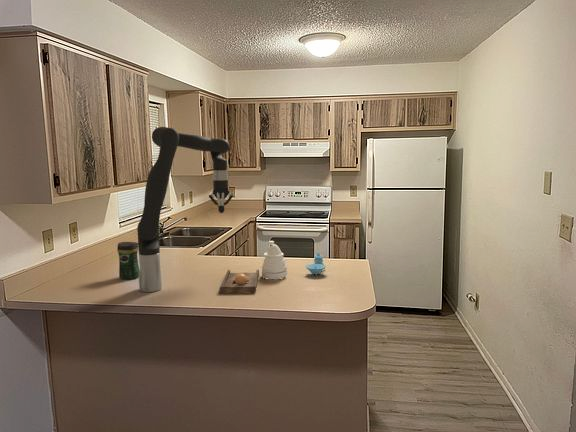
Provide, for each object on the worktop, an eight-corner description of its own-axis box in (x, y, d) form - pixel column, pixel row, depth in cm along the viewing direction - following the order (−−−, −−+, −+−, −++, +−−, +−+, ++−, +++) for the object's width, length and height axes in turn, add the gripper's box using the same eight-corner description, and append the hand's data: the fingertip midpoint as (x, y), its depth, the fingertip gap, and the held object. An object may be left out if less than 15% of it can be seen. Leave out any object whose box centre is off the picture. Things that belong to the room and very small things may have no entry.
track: (220, 293, 197) (220, 286, 197) (228, 275, 225) (227, 270, 225) (255, 292, 198) (255, 286, 197) (259, 275, 225) (259, 269, 225)
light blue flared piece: (324, 278, 220) (324, 260, 218) (303, 277, 222) (303, 259, 221) (329, 268, 237) (329, 252, 236) (310, 267, 239) (309, 251, 238)
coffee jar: (142, 275, 227) (140, 240, 224) (134, 280, 219) (131, 243, 216) (125, 274, 229) (123, 240, 226) (116, 279, 221) (114, 243, 218)
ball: (234, 273, 210) (235, 285, 210) (234, 275, 204) (235, 287, 204) (247, 272, 210) (247, 284, 211) (247, 274, 204) (247, 287, 205)
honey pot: (256, 276, 223) (256, 242, 220) (274, 271, 232) (274, 238, 230) (274, 281, 214) (274, 245, 212) (292, 276, 224) (292, 241, 221)
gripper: (206, 179, 219) (207, 214, 222) (232, 179, 219) (233, 213, 222) (208, 178, 226) (209, 212, 229) (234, 178, 226) (235, 211, 229)
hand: (221, 212), depth 225 cm, fingers closed
